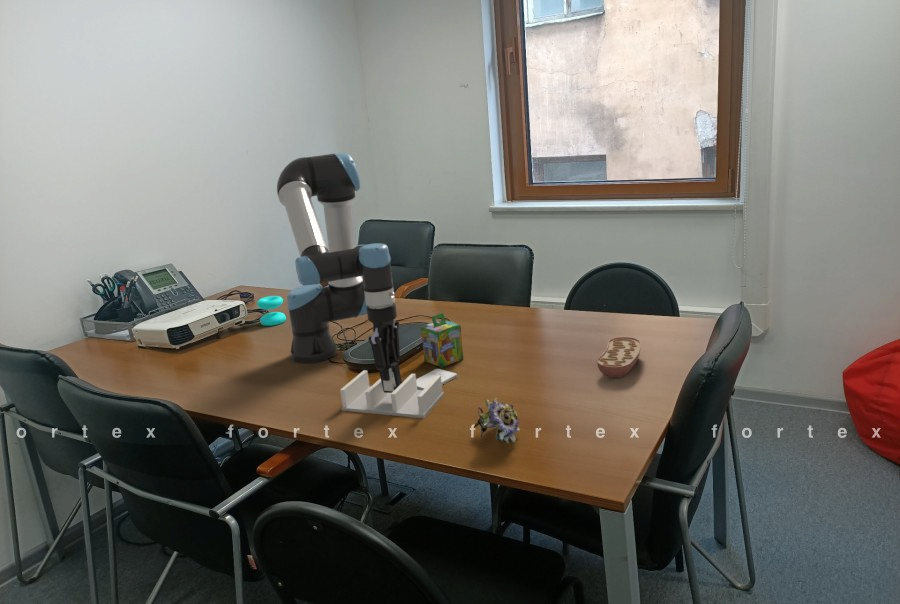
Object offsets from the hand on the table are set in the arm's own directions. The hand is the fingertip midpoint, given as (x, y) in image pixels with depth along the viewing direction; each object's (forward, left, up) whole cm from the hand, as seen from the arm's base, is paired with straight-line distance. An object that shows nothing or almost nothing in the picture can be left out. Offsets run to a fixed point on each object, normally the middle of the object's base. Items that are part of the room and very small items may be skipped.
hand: (391, 388), depth 169 cm
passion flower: (+13, +33, -4) cm, 36 cm away
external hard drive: (-15, +5, -5) cm, 16 cm away
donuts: (-57, -81, -4) cm, 99 cm away
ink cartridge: (0, 0, -1) cm, 1 cm away
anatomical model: (-33, +56, -5) cm, 65 cm away
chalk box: (-30, +3, -4) cm, 31 cm away
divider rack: (0, 0, -4) cm, 4 cm away
